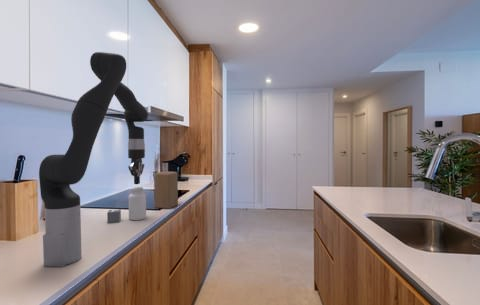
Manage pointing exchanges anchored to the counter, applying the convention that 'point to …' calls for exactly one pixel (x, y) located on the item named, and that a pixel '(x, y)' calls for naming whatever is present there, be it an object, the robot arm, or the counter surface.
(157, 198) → the wooden block
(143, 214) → the pill bottle
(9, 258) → the counter surface
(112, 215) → the number cube
